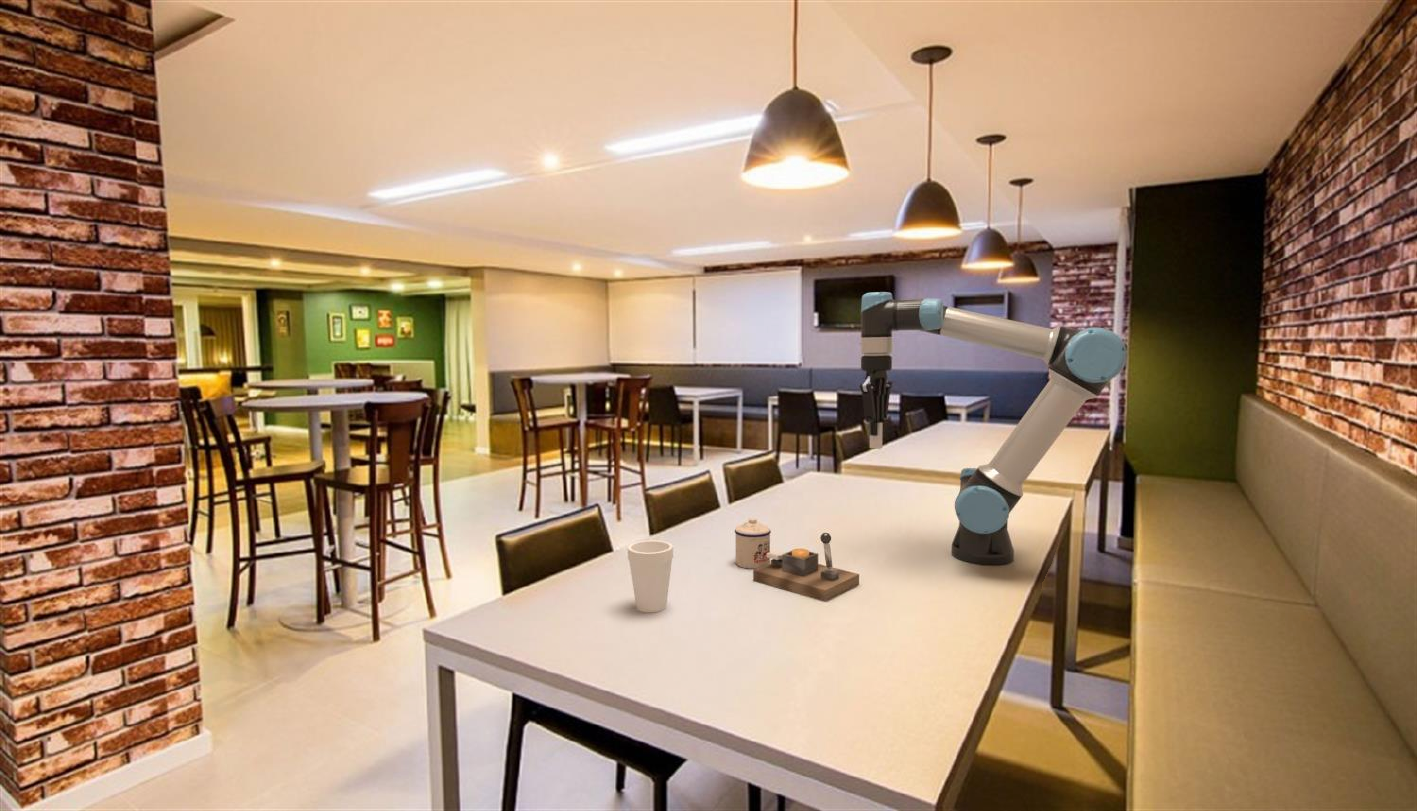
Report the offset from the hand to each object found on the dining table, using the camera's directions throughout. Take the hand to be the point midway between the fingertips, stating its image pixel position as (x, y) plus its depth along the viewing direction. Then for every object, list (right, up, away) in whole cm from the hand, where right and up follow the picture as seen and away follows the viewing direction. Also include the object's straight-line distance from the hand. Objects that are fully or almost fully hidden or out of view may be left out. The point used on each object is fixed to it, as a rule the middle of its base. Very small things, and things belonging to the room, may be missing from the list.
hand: (876, 448), depth 175 cm
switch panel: (-20, -30, -14) cm, 39 cm away
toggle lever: (-15, -26, -19) cm, 36 cm away
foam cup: (-55, -32, -29) cm, 70 cm away
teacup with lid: (-30, -29, +1) cm, 42 cm away
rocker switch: (-25, -26, -10) cm, 37 cm away
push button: (-21, -26, -14) cm, 36 cm away
